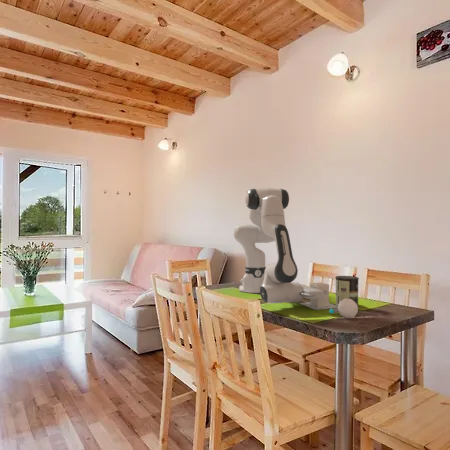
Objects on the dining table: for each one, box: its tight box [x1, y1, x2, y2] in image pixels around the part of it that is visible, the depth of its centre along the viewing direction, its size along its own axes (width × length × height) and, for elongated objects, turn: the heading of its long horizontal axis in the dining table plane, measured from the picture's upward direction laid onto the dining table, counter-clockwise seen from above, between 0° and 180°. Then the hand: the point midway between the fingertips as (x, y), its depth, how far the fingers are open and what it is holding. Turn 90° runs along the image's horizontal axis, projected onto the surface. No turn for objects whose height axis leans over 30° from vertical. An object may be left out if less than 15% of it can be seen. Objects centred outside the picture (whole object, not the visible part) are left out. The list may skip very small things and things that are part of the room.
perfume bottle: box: [328, 298, 359, 319], centre depth 147 cm, size 8×8×12 cm
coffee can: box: [334, 275, 360, 307], centre depth 166 cm, size 10×10×14 cm
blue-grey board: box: [298, 301, 338, 311], centre depth 165 cm, size 14×14×1 cm
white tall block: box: [309, 282, 330, 307], centre depth 165 cm, size 6×6×10 cm
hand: (320, 290), depth 165 cm, fingers open, 8 cm apart
